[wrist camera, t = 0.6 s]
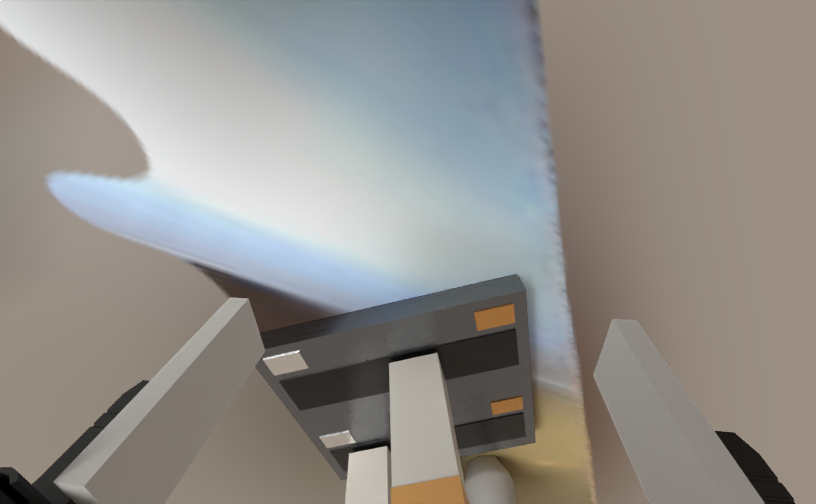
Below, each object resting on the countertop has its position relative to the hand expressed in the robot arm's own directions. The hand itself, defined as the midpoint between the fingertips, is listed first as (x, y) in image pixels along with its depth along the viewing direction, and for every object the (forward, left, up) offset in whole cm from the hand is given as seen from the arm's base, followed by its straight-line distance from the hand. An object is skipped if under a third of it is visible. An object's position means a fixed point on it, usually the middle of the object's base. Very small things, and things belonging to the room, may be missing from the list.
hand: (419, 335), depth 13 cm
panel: (+19, -4, -12) cm, 23 cm away
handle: (+14, -2, -9) cm, 17 cm away
